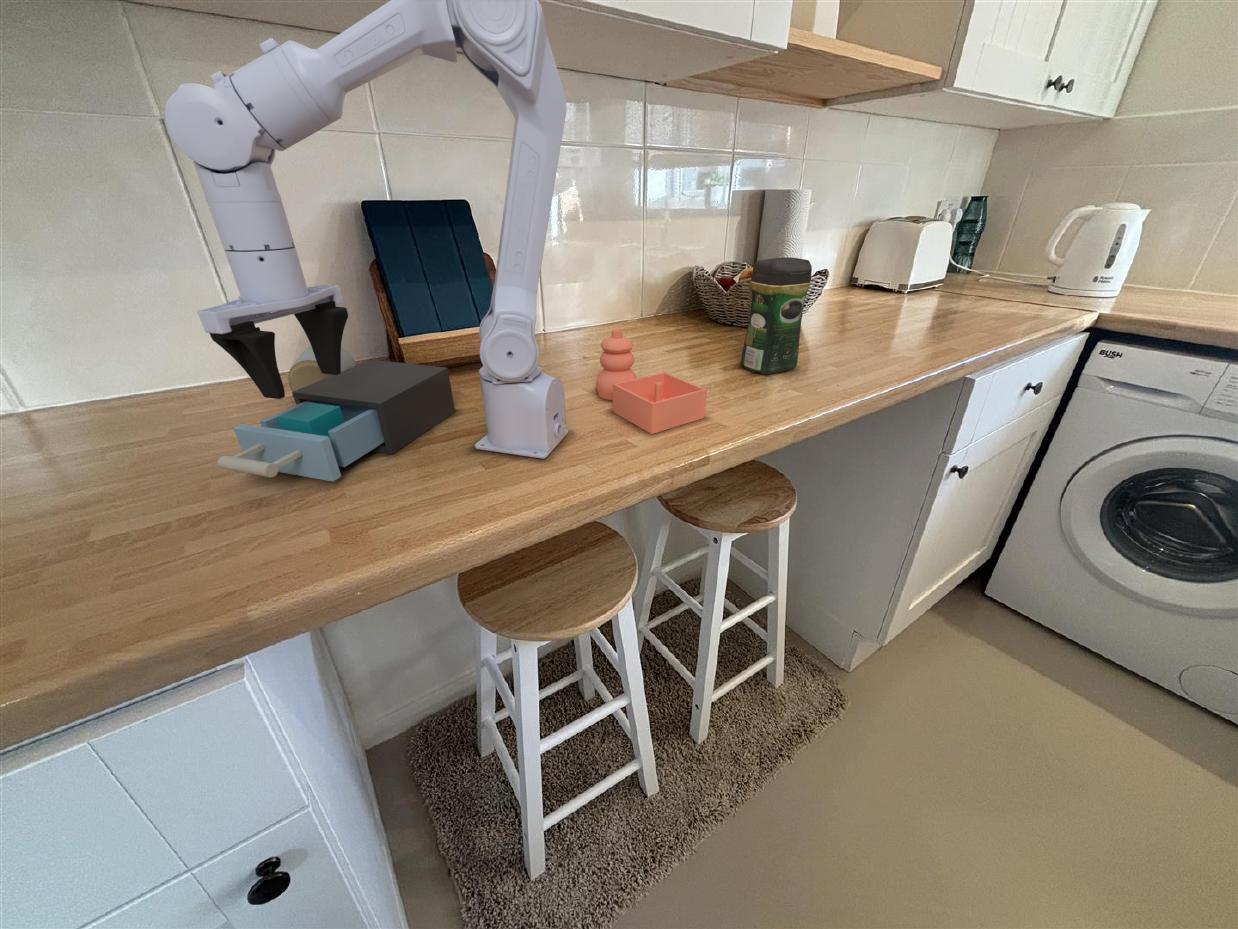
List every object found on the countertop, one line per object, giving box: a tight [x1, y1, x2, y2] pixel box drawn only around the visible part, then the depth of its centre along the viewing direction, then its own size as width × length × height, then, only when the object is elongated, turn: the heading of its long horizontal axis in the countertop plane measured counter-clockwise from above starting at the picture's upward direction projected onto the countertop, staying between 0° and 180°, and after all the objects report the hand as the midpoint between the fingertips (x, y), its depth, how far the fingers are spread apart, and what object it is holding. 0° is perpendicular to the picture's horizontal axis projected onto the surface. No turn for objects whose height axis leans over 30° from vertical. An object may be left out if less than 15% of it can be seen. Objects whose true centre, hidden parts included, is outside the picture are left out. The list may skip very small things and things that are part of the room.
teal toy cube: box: [277, 402, 345, 451], centre depth 55 cm, size 4×4×4 cm
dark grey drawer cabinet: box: [291, 359, 456, 455], centre depth 65 cm, size 14×13×7 cm
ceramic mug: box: [287, 344, 358, 392], centre depth 74 cm, size 11×8×8 cm
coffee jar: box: [740, 256, 813, 375], centre depth 85 cm, size 10×8×19 cm
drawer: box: [217, 400, 384, 482], centre depth 55 cm, size 17×11×5 cm
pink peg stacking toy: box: [595, 329, 708, 435], centre depth 71 cm, size 18×10×10 cm, turn 35°
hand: (304, 384), depth 53 cm, fingers open, 7 cm apart
